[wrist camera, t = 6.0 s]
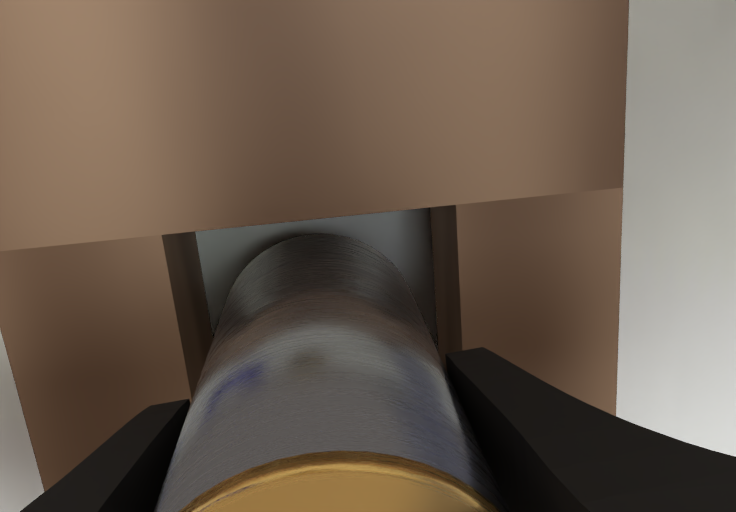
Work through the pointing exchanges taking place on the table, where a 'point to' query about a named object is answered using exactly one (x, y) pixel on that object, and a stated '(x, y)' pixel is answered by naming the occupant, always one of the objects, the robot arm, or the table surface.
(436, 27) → the dock plate
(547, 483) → the robot arm
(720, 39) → the table surface
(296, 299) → the peg
